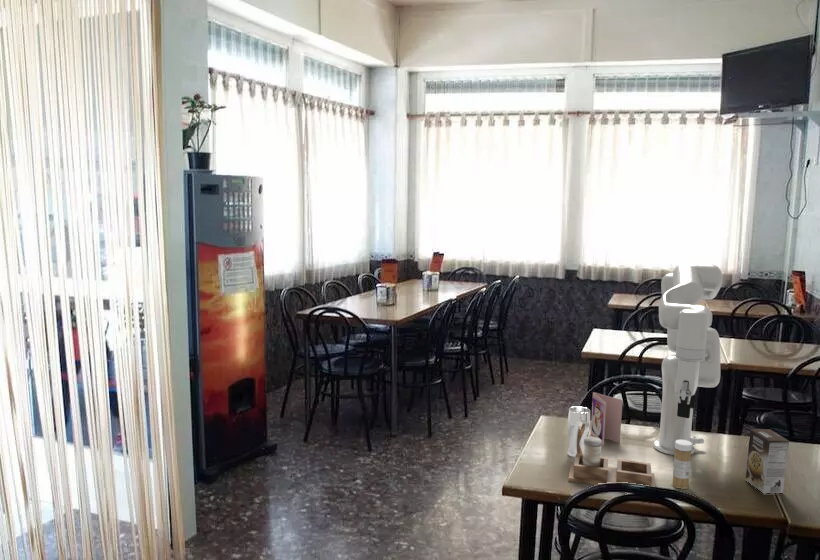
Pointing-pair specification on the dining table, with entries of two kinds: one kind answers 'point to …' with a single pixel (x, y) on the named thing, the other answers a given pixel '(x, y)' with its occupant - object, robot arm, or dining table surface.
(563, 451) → the dining table surface
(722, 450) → the dining table surface
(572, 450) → the silver metal can
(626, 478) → the condiment rack
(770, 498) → the dining table surface
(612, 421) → the greeting card
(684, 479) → the sprinkles bottle
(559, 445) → the dining table surface
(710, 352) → the robot arm
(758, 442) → the coffee box
